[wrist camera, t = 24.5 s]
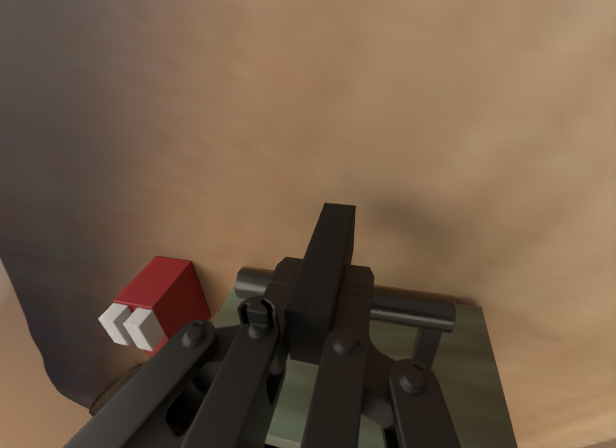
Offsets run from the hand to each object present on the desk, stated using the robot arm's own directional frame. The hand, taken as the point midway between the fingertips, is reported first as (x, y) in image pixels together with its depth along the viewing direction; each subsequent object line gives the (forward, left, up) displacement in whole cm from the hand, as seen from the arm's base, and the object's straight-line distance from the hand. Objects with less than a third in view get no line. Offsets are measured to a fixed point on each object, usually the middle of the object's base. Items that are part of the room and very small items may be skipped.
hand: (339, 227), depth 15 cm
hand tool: (+47, +1, -4) cm, 47 cm away
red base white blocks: (+18, -3, -4) cm, 19 cm away
